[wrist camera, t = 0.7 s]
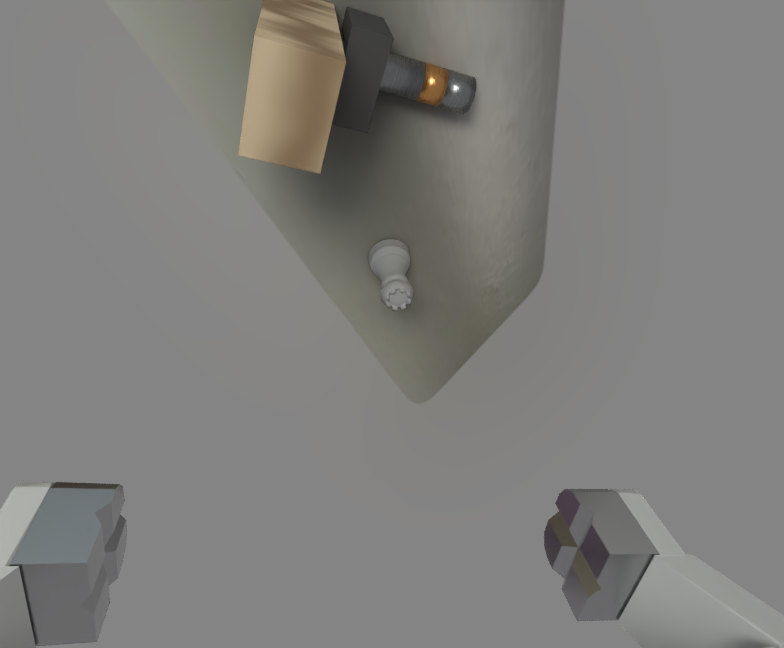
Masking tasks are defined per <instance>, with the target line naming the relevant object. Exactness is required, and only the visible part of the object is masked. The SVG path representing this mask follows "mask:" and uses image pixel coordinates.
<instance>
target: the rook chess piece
mask: <svg viewBox="0 0 784 648" xmlns="http://www.w3.org/2000/svg"><path fill="white" fill-rule="evenodd" d="M368 260H369V264H370V268H371V270H372V271H373V273H374V274H375V275H376V276H377V277H379V278H380V279H381V281H382V284H381V289H382V291H381V294H380V296H381V300H382V302H383V303H384V304H385V305H386V306H387V307H388V308H389V307H392V310H393V311H397V308H401V309H402V310H404V309H406V305H407V304H409V305H410V304H411V300H412V298H413V296H414V290H413V288H412V287H411V285H410V284H409V280H408V279H407V277H406V272H407V271H408V268H409V266H410V253H409V249H408V248H407V246H406V245H405V244H404V243H402V242H401V241H399V240H394V239H387V240H382V241H380V242H378V243H376V244H375V245H374V246H373V247H372V248H371V250H370V252H369V255H368Z"/></svg>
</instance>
